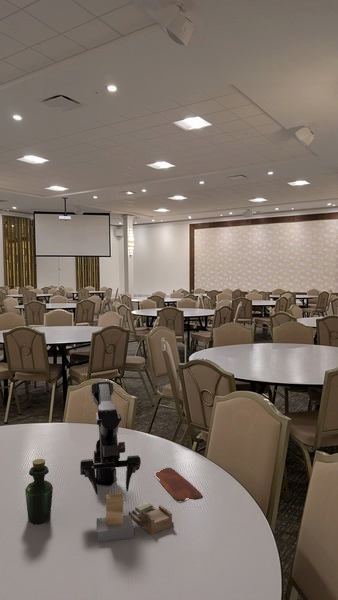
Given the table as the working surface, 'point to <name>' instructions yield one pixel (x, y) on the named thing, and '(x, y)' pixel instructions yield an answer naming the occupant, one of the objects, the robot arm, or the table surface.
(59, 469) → the table surface
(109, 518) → the oak block
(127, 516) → the plinth
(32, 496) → the potion bottle
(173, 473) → the wooden tablet
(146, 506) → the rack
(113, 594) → the table surface
